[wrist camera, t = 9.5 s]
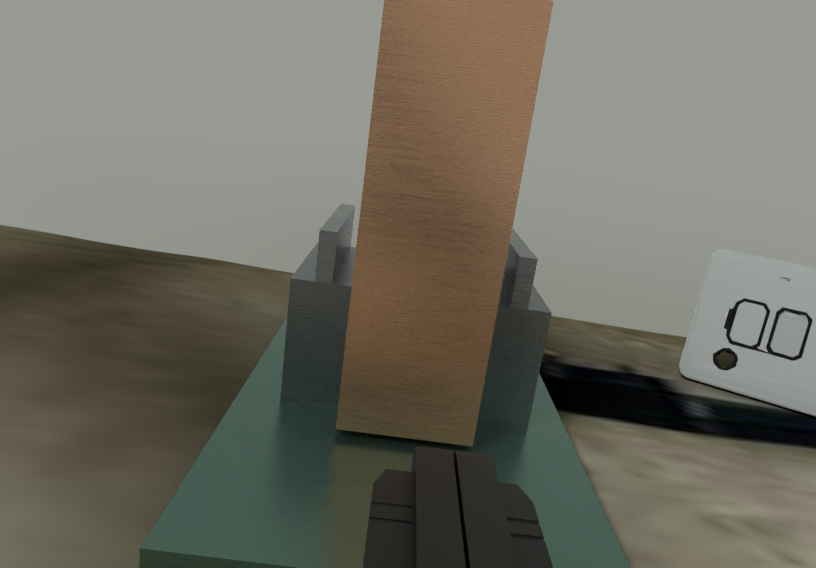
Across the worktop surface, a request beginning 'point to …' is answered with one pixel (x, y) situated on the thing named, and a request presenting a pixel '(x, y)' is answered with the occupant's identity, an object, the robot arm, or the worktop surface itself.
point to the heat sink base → (367, 440)
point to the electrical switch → (756, 330)
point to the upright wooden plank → (438, 211)
